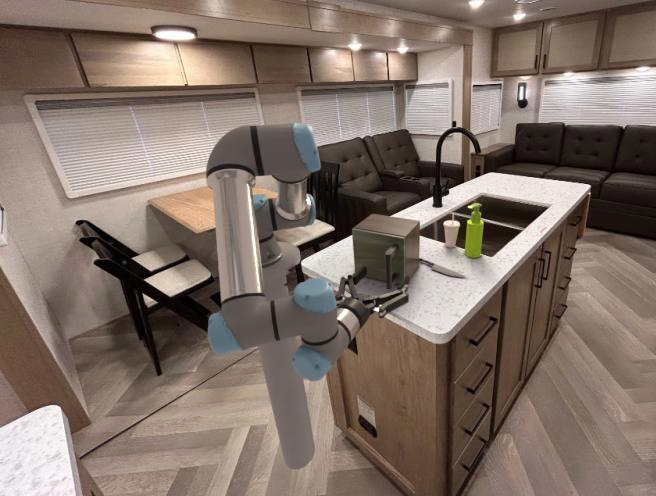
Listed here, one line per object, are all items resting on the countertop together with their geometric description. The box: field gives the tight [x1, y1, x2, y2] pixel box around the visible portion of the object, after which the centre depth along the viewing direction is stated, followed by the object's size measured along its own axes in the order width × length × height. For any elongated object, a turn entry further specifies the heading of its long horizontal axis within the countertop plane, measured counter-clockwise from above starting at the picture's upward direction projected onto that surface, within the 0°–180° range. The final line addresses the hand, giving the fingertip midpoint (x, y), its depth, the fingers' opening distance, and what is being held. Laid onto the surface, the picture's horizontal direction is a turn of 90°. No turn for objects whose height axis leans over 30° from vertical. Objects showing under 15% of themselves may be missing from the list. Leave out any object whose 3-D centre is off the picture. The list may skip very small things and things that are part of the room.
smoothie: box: [443, 212, 461, 249], centre depth 125 cm, size 6×6×14 cm
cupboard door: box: [351, 227, 405, 291], centre depth 99 cm, size 8×18×17 cm, turn 67°
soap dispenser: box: [464, 202, 485, 259], centre depth 117 cm, size 6×7×20 cm
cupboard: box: [353, 213, 421, 280], centre depth 108 cm, size 13×18×17 cm
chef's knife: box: [419, 257, 467, 278], centre depth 110 cm, size 19×1×3 cm
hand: (386, 274), depth 93 cm, fingers open, 13 cm apart
